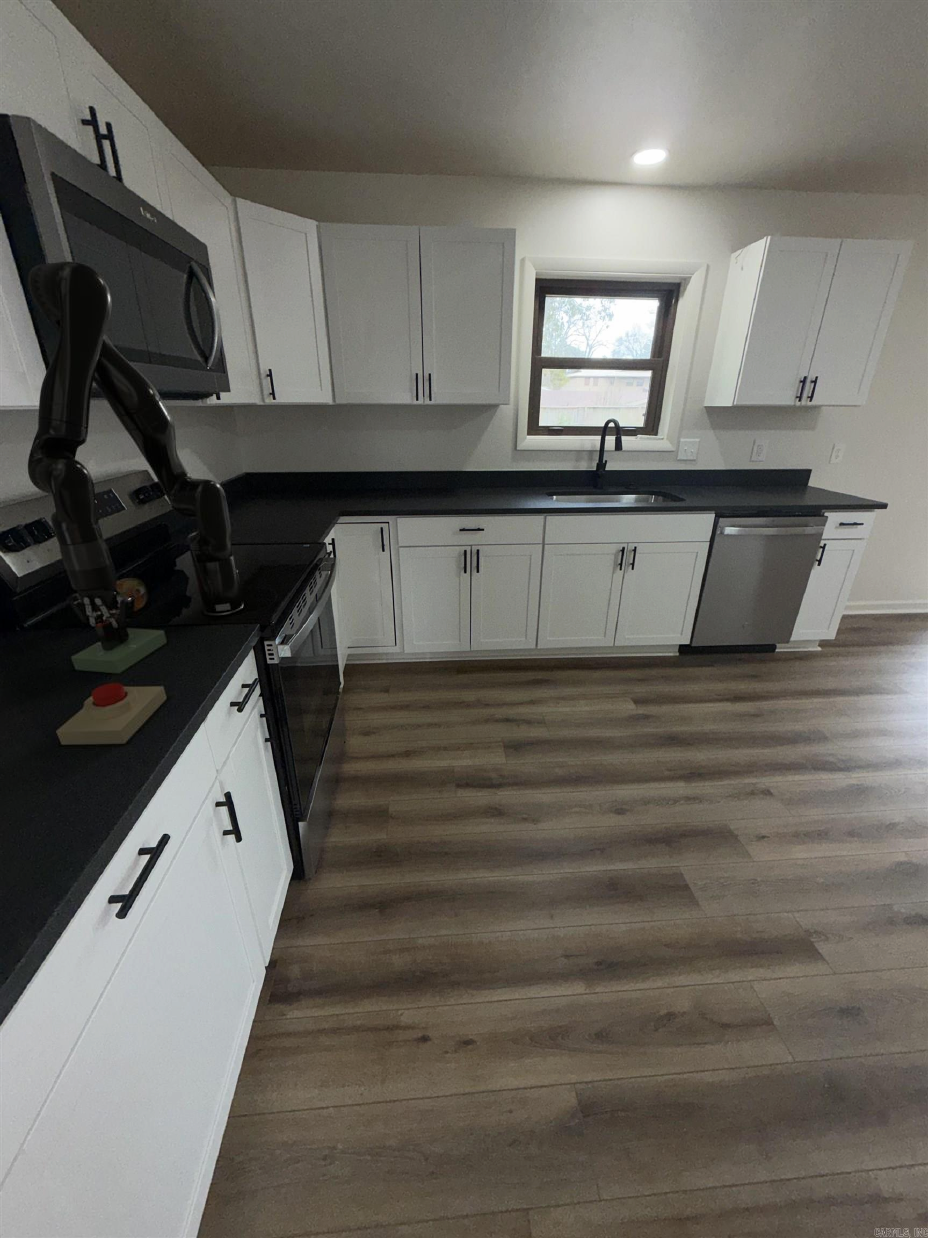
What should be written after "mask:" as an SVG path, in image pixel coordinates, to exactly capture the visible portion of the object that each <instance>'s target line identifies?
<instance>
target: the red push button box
mask: <svg viewBox="0 0 928 1238" xmlns="http://www.w3.org/2000/svg"><path fill="white" fill-rule="evenodd" d="M123 688H124V691H125V694H126V698H125V699H124V700H122V701H120V702H118V703H116V704H113V705H109V706H105V707H97V706H96V705H95V703H94V700H93V697H92V695H91V696H90V697H89V698H88V697H87V699H86V700H85V701H84V703H83V707H82V709H80V710H79V711H78V712H77V713H76V714H75V715H73V716H72V717H71V718H70V719H68V720H67V721H66V722H64V724H62V726H60V727H59V728H58V729H57V730H56V731H55V732H56V735H57V737H58V739H59V741H60V742H59V743H60V744H61V745H62V746H63V745H64V746H66V745H67V746H68V745H121V744H126V743H127V742H128V741H129V740H130V738H132V736H133V735H135V733H137V731H138V730H139V729H140V728H141V727H142V726H143V725H144V724H145V723H146V721H147V720H148V719H149V718H150V717H151V716H152V715H153V714H154V713H155V712H156V711H157V710H158V709H159V708H160V706H161V705H163V703H164V702H165V701H166V700H167V699H168V698H167V694H166V690H165V688H164V686H163V685H162V686H160V685H159V686H157V685H156V686H123Z"/></svg>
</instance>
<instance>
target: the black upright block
mask: <svg viewBox="0 0 928 1238" xmlns="http://www.w3.org/2000/svg"><path fill="white" fill-rule="evenodd" d="M115 618H116V620H119V619H118V617H116V616H115ZM95 628H96V631H97V633H98V636H99V638H98V640H99V639H100V640H99V641H100V642H101V645H102V648H103V650H108V651H110V650H112V649H114V648H115V647H117V646H119V645H120V644H122V643H118V642H117V639H116V636H115V633H114V630H113V626H112V624H111V622H110V620H109V619H108V620H105V621H104V622H102V623H98V624H97V625H96V626H95ZM95 628H94V629H95ZM96 631H95V632H96Z"/></svg>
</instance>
